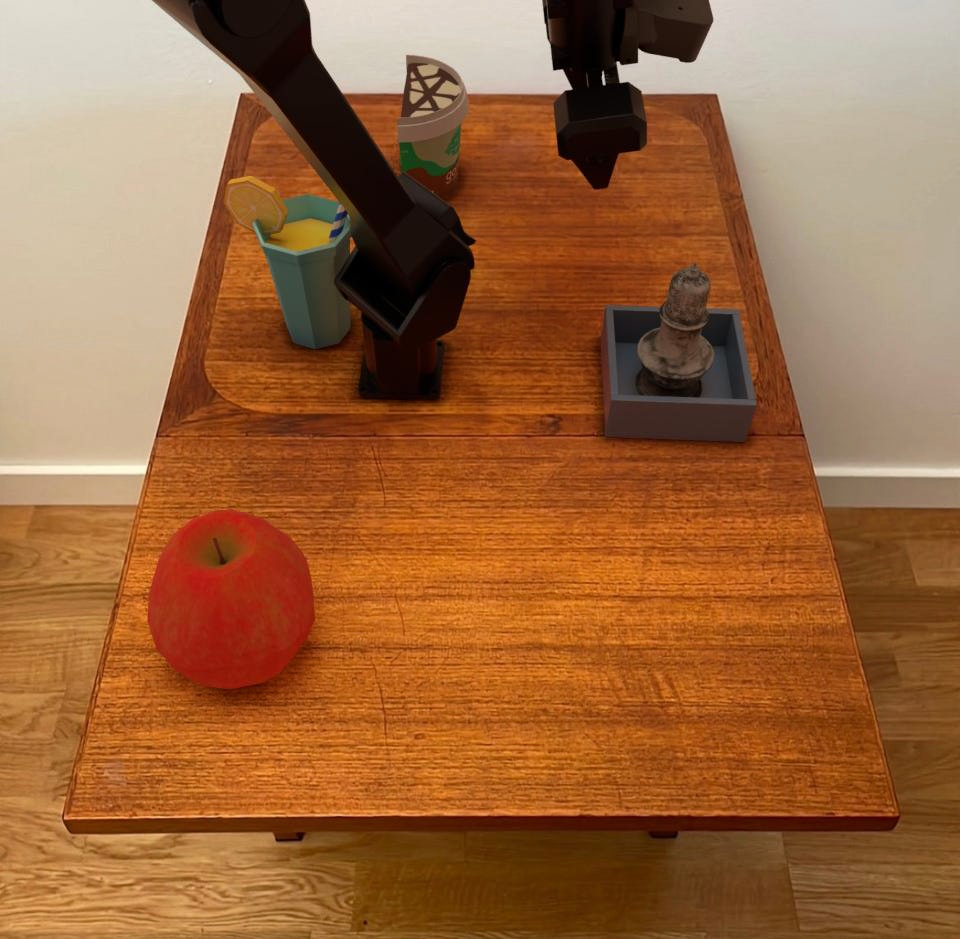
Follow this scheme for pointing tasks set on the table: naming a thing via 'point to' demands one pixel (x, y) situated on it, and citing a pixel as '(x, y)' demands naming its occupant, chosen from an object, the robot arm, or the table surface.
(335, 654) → the table surface
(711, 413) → the grey open tray box
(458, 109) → the food container
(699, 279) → the grey stone upright piece
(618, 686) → the table surface
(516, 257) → the table surface
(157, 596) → the apple
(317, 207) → the cup
